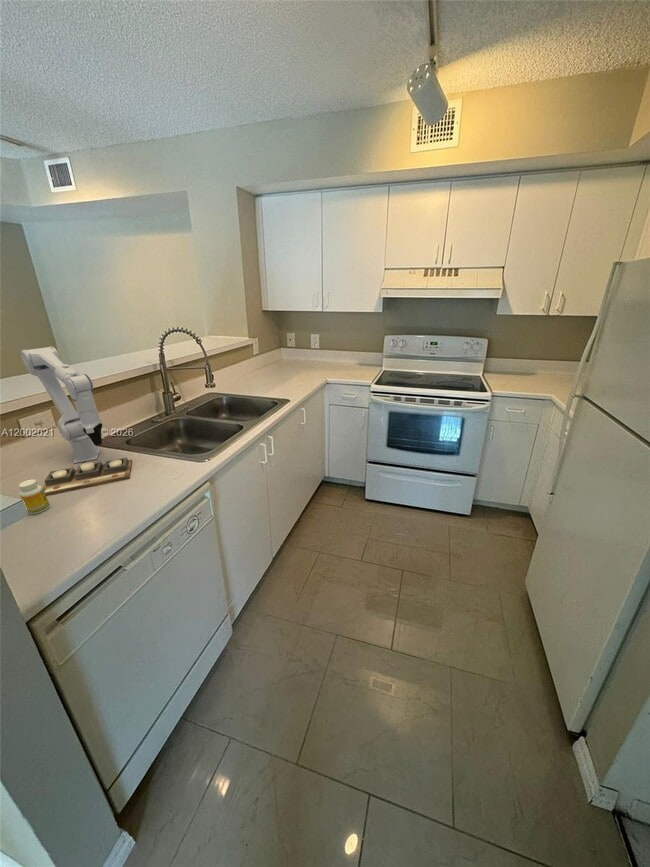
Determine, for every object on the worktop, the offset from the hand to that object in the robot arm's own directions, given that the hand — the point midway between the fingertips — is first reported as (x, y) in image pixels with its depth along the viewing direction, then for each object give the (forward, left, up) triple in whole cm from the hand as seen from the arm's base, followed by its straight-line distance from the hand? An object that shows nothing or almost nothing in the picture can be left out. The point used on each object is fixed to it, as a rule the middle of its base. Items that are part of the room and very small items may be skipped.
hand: (98, 444), depth 122 cm
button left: (+6, -12, -8) cm, 16 cm away
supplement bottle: (+22, -15, -10) cm, 28 cm away
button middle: (+6, -4, -7) cm, 10 cm away
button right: (+5, +5, -8) cm, 11 cm away
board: (+7, -4, -9) cm, 12 cm away
